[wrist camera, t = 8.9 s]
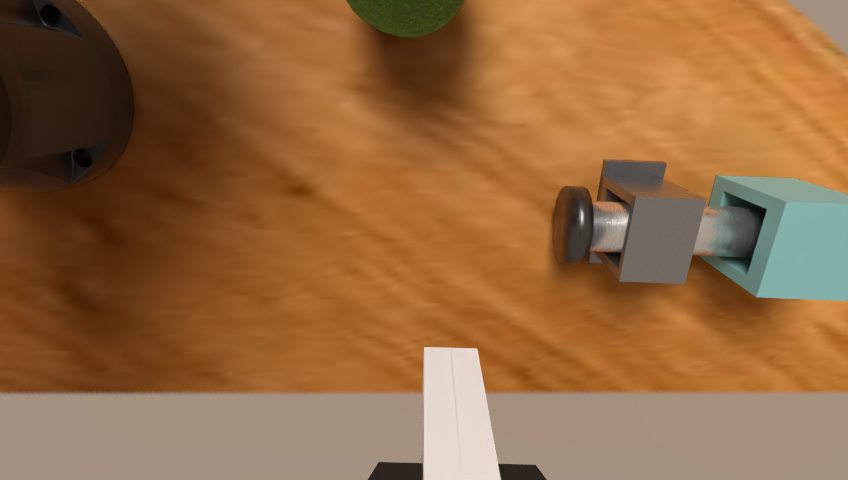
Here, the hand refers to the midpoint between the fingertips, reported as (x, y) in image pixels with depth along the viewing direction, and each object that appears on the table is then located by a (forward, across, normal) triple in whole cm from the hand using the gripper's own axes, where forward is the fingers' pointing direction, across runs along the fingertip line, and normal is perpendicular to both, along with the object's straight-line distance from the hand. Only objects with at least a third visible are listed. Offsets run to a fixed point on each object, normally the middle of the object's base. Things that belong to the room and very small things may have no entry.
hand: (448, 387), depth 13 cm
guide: (+24, +15, -2) cm, 29 cm away
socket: (+24, +25, -2) cm, 35 cm away
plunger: (+23, +18, -2) cm, 29 cm away
